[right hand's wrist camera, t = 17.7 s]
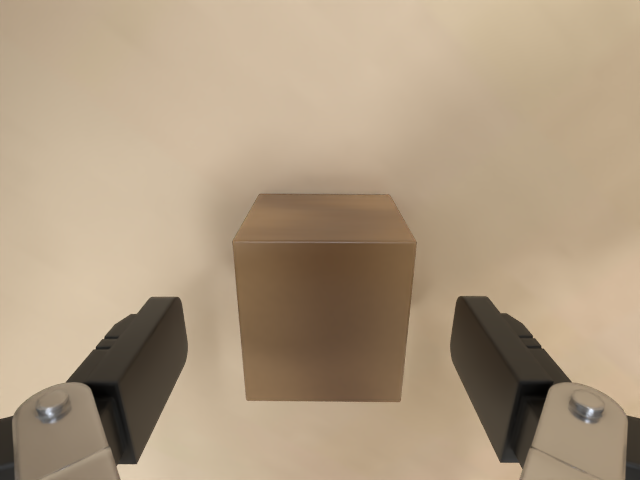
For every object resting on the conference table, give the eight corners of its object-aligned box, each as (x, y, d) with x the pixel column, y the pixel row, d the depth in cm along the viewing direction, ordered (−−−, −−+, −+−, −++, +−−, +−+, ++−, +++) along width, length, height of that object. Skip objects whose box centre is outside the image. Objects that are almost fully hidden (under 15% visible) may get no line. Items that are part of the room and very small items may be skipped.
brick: (265, 318, 16) (245, 401, 12) (258, 193, 14) (231, 240, 10) (381, 319, 16) (400, 402, 12) (390, 194, 14) (417, 241, 10)
